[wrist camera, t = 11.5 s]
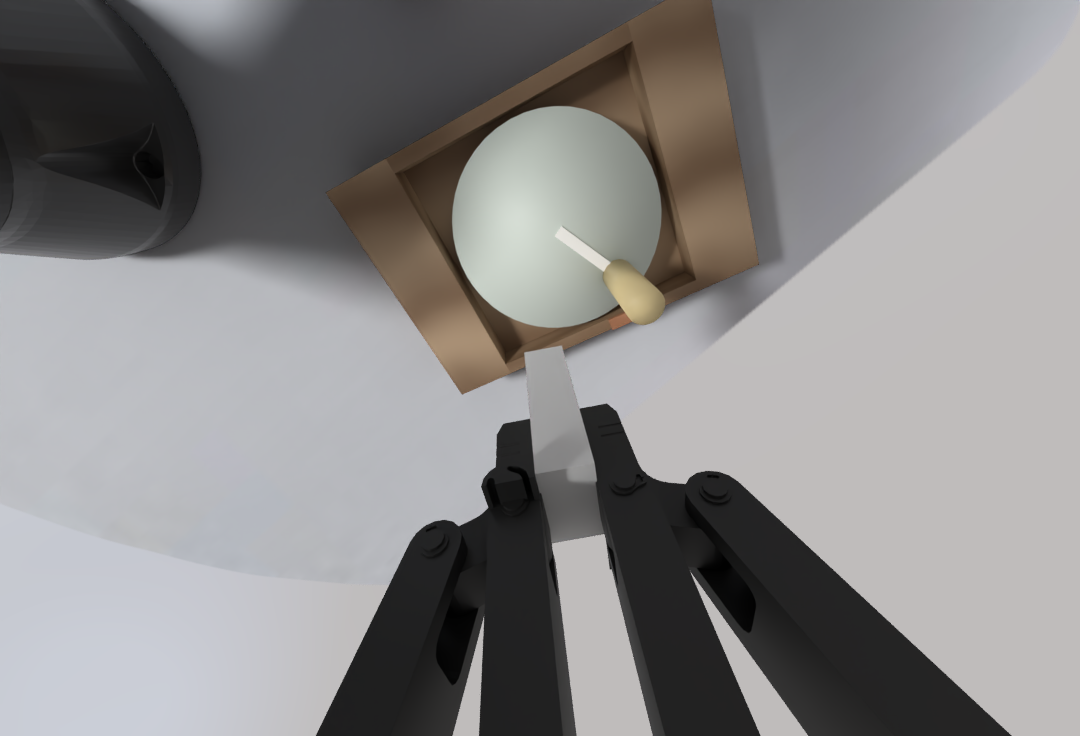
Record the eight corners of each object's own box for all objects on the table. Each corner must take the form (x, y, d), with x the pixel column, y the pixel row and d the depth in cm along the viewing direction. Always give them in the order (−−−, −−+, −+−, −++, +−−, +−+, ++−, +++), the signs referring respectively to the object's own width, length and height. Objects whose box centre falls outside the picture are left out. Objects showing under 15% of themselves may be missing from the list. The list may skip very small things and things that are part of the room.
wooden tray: (351, 187, 25) (323, 193, 22) (676, 5, 22) (709, -26, 18) (467, 368, 32) (461, 396, 28) (729, 251, 29) (761, 265, 25)
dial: (574, 348, 29) (592, 406, 23) (420, 253, 25) (386, 289, 19) (693, 198, 25) (760, 215, 18) (528, 53, 21) (535, 4, 14)
